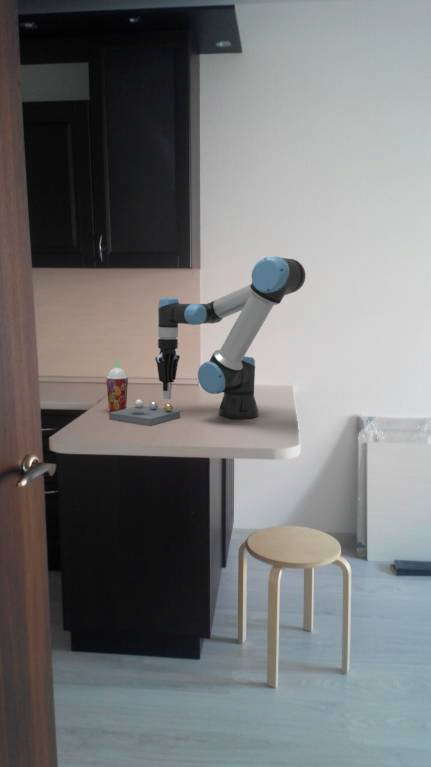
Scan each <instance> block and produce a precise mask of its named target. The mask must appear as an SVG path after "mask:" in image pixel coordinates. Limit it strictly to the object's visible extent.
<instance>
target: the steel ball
mask: <svg viewBox="0 0 431 767" xmlns="http://www.w3.org/2000/svg"><path fill="white" fill-rule="evenodd" d="M148 407H150V409H152V410H155V409H157V408H159V407H158V402H156V401H155V400H154V401H153V400H152V401H151V402H150V403H149V405H148Z"/></svg>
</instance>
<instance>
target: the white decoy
mask: <svg viewBox="0 0 431 767" xmlns="http://www.w3.org/2000/svg"><path fill="white" fill-rule="evenodd" d="M142 406H144V402H143V400H142V399H136V400H135V402H134V407H137V408H141V407H142Z"/></svg>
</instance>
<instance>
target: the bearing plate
mask: <svg viewBox="0 0 431 767" xmlns="http://www.w3.org/2000/svg"><path fill="white" fill-rule="evenodd" d="M108 414H109V415H108V416H109V417H108V418H109V420H110V421H116V420H117V421H118V422H122V421H123V422H125V423H128V422H129V424H130V423H131V424H135V425H143V426H148V427H153V426H155V425H159V424H162V423H166V422H170V421H173V420H176V419H181V410H176V409H172V411H171V412H166V411H165V409H164V408H161V407H157V409H155V410H152V409H150V407H149V405H147V406H146V405H143V406H142V407H141V408H137V407H136V406H133V407H127V408H126V409H123V410H119V411H114V412H110V411H109V413H108ZM117 421H116V422H117Z"/></svg>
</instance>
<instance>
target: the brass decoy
mask: <svg viewBox="0 0 431 767" xmlns="http://www.w3.org/2000/svg"><path fill="white" fill-rule="evenodd" d="M173 407H174V406H173V405H172V404H171V403H165V405H164V407H163V409H165V411H166V412H171V411H172V410H174V408H173Z"/></svg>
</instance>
